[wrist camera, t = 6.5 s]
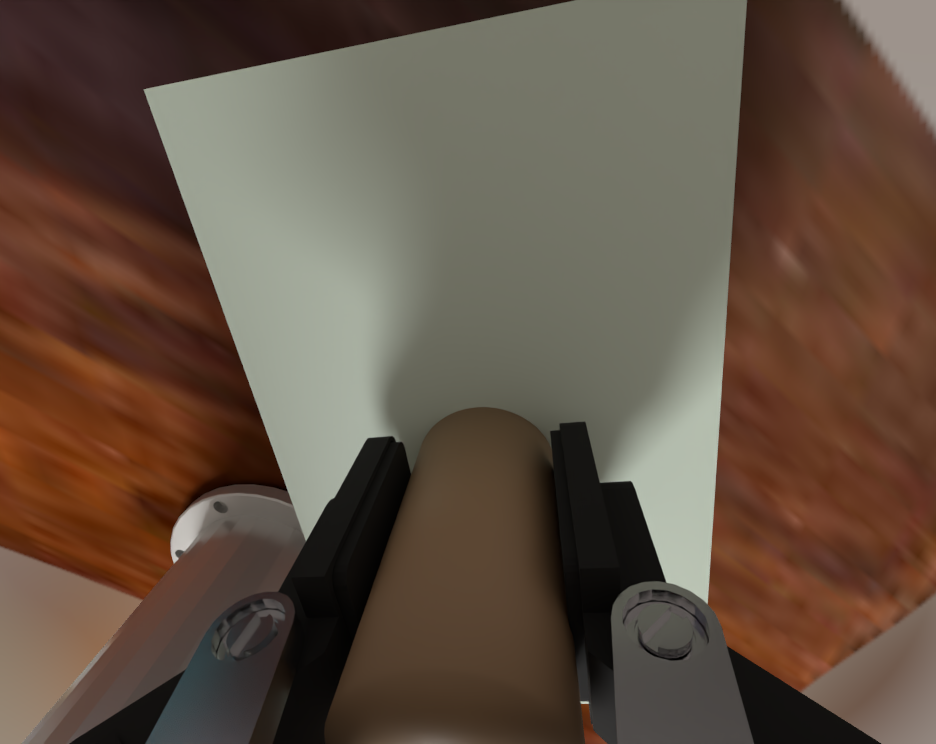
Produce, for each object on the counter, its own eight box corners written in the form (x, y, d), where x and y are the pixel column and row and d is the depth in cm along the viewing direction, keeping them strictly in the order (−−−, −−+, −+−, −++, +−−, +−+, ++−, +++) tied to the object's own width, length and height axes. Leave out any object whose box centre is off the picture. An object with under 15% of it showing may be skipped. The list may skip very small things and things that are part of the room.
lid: (690, 671, 15) (815, 1057, 8) (372, 671, 16) (277, 997, 10) (723, -15, 8) (1456, -628, 2) (179, 95, 10) (-482, -19, 3)
